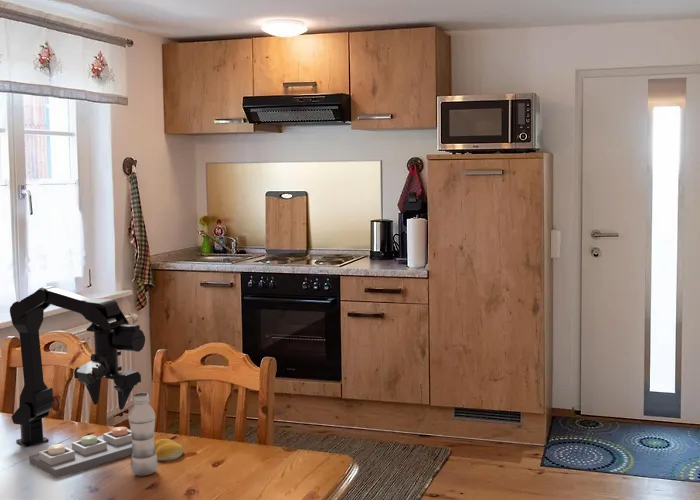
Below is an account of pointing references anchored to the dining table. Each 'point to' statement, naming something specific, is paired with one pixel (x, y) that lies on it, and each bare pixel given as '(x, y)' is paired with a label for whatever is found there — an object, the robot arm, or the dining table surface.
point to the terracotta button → (119, 432)
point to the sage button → (88, 440)
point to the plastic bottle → (142, 436)
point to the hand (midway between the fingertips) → (108, 406)
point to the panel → (83, 455)
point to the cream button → (56, 449)
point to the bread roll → (167, 449)
